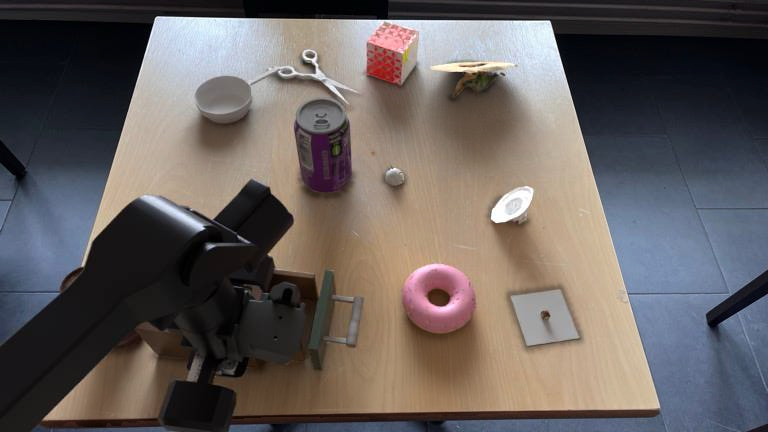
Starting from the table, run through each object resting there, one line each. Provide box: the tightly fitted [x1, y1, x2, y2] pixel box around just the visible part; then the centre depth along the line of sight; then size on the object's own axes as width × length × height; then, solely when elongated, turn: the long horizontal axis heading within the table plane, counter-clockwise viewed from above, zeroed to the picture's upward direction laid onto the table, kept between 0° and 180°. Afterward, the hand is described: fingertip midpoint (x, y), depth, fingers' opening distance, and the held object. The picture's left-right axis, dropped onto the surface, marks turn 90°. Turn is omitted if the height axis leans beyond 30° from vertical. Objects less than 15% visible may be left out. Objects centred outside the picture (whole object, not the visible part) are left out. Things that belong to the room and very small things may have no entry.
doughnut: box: [400, 262, 477, 334], centre depth 77 cm, size 11×11×4 cm
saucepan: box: [193, 65, 281, 124], centre depth 101 cm, size 11×18×4 cm, turn 129°
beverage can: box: [293, 96, 353, 194], centre depth 86 cm, size 9×9×15 cm
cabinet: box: [134, 255, 277, 370], centre depth 72 cm, size 15×13×10 cm
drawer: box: [263, 268, 365, 372], centre depth 71 cm, size 18×11×8 cm, turn 83°
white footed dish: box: [490, 185, 534, 225], centre depth 86 cm, size 8×5×8 cm
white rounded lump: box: [385, 165, 405, 186], centre depth 91 cm, size 3×4×3 cm
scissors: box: [267, 49, 362, 105], centre depth 106 cm, size 11×1×20 cm
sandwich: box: [429, 61, 518, 99], centre depth 105 cm, size 18×14×8 cm
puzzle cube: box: [366, 20, 420, 87], centre depth 106 cm, size 8×8×8 cm
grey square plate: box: [510, 289, 580, 347], centre depth 77 cm, size 8×8×2 cm
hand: (238, 363), depth 59 cm, fingers closed
